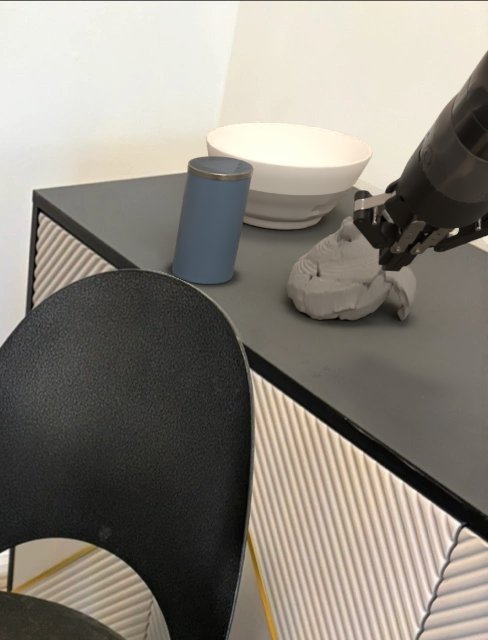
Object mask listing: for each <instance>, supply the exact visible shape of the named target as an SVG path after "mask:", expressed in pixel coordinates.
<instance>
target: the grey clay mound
mask: <svg viewBox="0 0 488 640" xmlns="http://www.w3.org/2000/svg"><path fill="white" fill-rule="evenodd" d="M290 271H291V272H290V274H289V275H288V279H287V281H286V285H285V290H286V293H287V295H288V298H290V299H291V300H292V303H293V305H294V307H295V309H297V310H298V311H299V312H300V313H304V314H305V315H307V316H309V317H310V318H311V319H313V320H319V321H322V320H331V319H332V320H333V319H336V318H339V320H341V321H342V320H347V321H356V320H359V319H361V318H364V317H367V316H368V315H369V314H373V313H374V312H375V311H376V310H378V308H379V307H380V306H382V304H383V303H384V301H385V300H386V299H387V298H388V296H389V295H390V291H391V289H392V287H393V290H394V292H395V293H396V294H397V295H398V296H397V297H398V298H399V300H400V302H401V306H400V308H399V309H398V310H397V316H398V318H399V319H400V321H401V322H403V321H405V320H406V318H407V316H408V315H409V314H410V311H411V310H412V308H413V305H414V303H415V299H416V294H417V279H416V277H415V274H414V272H413V270H412V269H410V267H409V265H408V266H406V267H404V266H403V267H402V269H401V270H400V271H399V272H397V271H383V270H382V265H379V249H375V248H373V247H372V246H371V244H370V243H369V242H368V241H367V240H366V238H365V237H364V236H363V235H362V233H361V232H360V231H359V230H358V229H357V227H356V226H355V225H354V224H353V216H350V215H349V216H346V217H345V218H344V219H342V222H341V224H340V227H339V228H338V229H337V230H336V231H335V232H334V233H332V234H329V235H328V236H326V237H324V238H322V239H321V240H320V241H318V242H317V243H316V244H315V245H314V246H312V248H311V250H309V251H308V252H306V253H304V254H303V255H302V256H300V257H299V258H297V261H296V262H295V263H294V265H293V267H291V270H290Z"/></svg>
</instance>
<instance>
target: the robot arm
mask: <svg viewBox="0 0 488 640" xmlns="http://www.w3.org/2000/svg"><path fill="white" fill-rule="evenodd" d="M424 135H425V136H424V137H423V138H422V140H421V141H420V142H419V144H418V146H417V147H416V149H415V150H414V151H413V153H412V155H411V156H410V157H409V158H408V160H407V163H405V166H404V168H403V171H402V173H401V174H400V176H399V177H398V178H397V179H395V180H393V181H392V182H389V184H388V185H387V186H386V188H385V190H384V193H379V194H376V195H372V194H371V192H370V191H369V190H365V189H363V190H361V189H360V190H358V191H356V192H355V193H354V196H353V210H352V211H353V212H352V215H353V216H352V219H353V224H354V225H355V226H356V227H357V229H358V230H359V231H360V232H361V233H362V235H363V236H364V237H365V238H366V240H367V241H368V242H369V243H370V244H371V246H372V247H373V248H375V249H379V265H382V270H383V271H397V272H399V271H400V270H401V269H402V267H403V266H404V267H406V266H408V267H409V266H410V265H411V264H412V262H413V261H415V259H416V258H417V256H418V255H421V254H423V253H424V252H426V251H427V250H428V249H433V252H435V253H445V252H447V251H449V250H452V249H455V248H457V247H458V248H459V247H460V246H463V245H466V244H469V243H471V242H475V241H477V240H480V239H482V238H485V237H488V49H487V50H486V52H485V53H484V54H483V56H482V57H481V59H480V60H479V62H478V63H477V64H476V65H475V67H474V69H473V70H472V72H471V73H470V74H469V76H468V78H467V79H466V81H465V82H464V83H463V84H462V86H461V88H460V90H459V91H458V92H457V93H456V94H455V95H454V96H453V97H452V98H451V99H450V100H449V101H448V102H447V104H445V106H444V107H443V109H442V110H441V112H440V113H439V114H438V116H437V117H436V118H435V120H434V122H433V123H432V125H431V127H430V128H429V129H428V131H427V132H426V134H424ZM385 211H386V212H385ZM389 217H390V218H389ZM390 219H391V220H392V222H390V221H389V220H390ZM455 229H458V230H457V231H458V232H457V233H456V234H453V235H451V236H450V233H453V232H454V231H455Z"/></svg>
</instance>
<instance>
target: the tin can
mask: <svg viewBox="0 0 488 640" xmlns="http://www.w3.org/2000/svg"><path fill="white" fill-rule="evenodd" d="M253 169H254V168H253V166H252V165H251V164H250V163H248V162H245V161H243V160H239V159H235V158H229V157H220V156H208V155H206V156H199V157H194V158H191V159H189V160H188V163H187V169H186V177H185V184H184V191H183V196H182V202H181V210H180V215H179V222H178V228H177V235H176V242H175V248H174V254H173V259H172V260H173V261H172V267H171V272H172V275H174V276H175V277H177V278H178V279H180V280H183V281H186V282H190V283H193V284H201V285H217V284H222V283H226V282H228V281H230V280H232V278H233V277H234V271H235V266H236V262H237V255H238V250H239V245H240V239H241V235H242V229H243V224H244V222H243V219H244V214H245V209H246V203H247V198H248V193H249V188H250V183H251V177H252V174H253Z"/></svg>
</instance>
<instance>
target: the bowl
mask: <svg viewBox="0 0 488 640" xmlns="http://www.w3.org/2000/svg"><path fill="white" fill-rule="evenodd" d="M205 143H206V150H207V156H220V157H229V158H235V159H239V160H243V161H245V162H248V163H250V164H251V165H252V166H253V168H254V169H253V174H252V177H251V183H250V188H249V193H248V198H247V203H246V209H245V214H244V219H243V224H247V225H249V226H250V225H251V226H253V227H258V228H263V229H271V230H289V231H290V230H301V229H307V228H309V227H313V226H315V225H317V224H318V223H319V222H320V221H321V220H322V217H324V216H326V215H328V213H330V212H331V211H332V210H333V209H334V208H335V206H336V204H337V203H338V202H339V201H340V200H342V199H343V198H344V197H345V196H346V195H347V193H349V191H350V190H351V189H352V187H354V185H356V184H357V182H358V180H359V178H360V177H361V175H362V173H363V172H364V170H365V168H366V167H367V166H368V164H369V162H370V160H371V159H372V157H373V153H374V152H373V150H372V147H371V146H370V144H367V143H366V142H365V141H363V140H362V139H360V138H357V137H354V136H352V135H349V134H347V133H343V132H339V131H336V130H333V129H329V128H328V129H327V128H323V127H318V126H311V125H304V124H297V123H285V122H242V123H233V124H228V125H223V126H220V127H217V128H214V129H212V130H211V131H209V132H208V133H207V135H206V137H205Z"/></svg>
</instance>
